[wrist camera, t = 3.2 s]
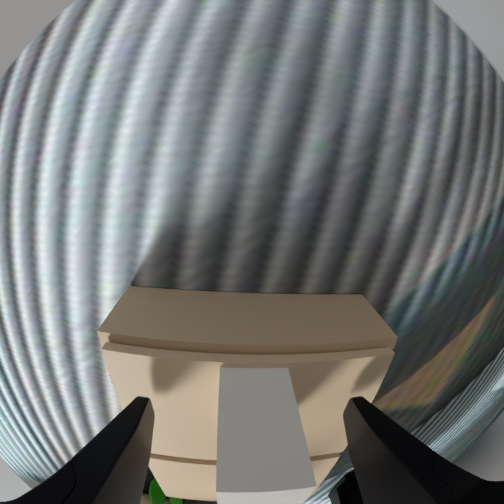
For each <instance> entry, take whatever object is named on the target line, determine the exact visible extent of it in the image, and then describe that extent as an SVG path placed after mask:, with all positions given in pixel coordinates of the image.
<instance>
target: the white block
mask: <svg viewBox="0 0 504 504" xmlns="http://www.w3.org/2000/svg"><path fill="white" fill-rule="evenodd" d="M102 353H103V356H104V359H105V363H106V366H107V369H108V372H109V375H110V378H111V381H112V384H113V387H114V389H115V392H116V395H117V398H118V400H119V403H120V405H121V408H122V410H123V409H124V408H125V407H126V406H127V405H128V404H129V403H131V402H132V401H133V400H134V399H135V398H136V397H137V396H143V397H148V398H150V400H151V403H152V406H153V410H154V414H155V419H154V428H153V437H152V446H151V453H153V454H159V455H166V456H174V457H182V458H192V459H204V460H217V463H216V496H217V504H303V503H304V502H305V501H306V499H307V498H308V497H309V496H310V494H311V493H312V492H313V491H314V489H315V488H316V487H317V485H316V481H315V477H314V473H313V468H312V464H311V460H310V456H318V455H325V454H331V453H337V452H342V451H344V450H345V448H346V446H347V445H348V443H347V437H346V432H345V426H344V420H343V412H344V410H345V408H346V405H347V403H348V401H349V399H350V398H352V397H357V396H362V397H364V398H365V399H366V400H368V401H369V402H370V403H372V401H373V399H374V397H375V395H376V393H377V391H378V389H379V387H380V385H381V383H382V381H383V379H384V377H385V375H386V372H387V370H388V368H389V366H390V363H391V361H392V359H393V356H394V354H395V353H394V352H393V351H392V349H391V348H390V347H385V348H376V349H367V350H356V351H345V352H331V353H313V354H278V355H254V354H219V353H201V352H187V351H175V350H164V349H155V348H146V347H138V346H131V345H123V344H117V343H110V342H106V343H105V344H104V346H103V348H102Z"/></svg>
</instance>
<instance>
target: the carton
mask: <svg viewBox="0 0 504 504" xmlns="http://www.w3.org/2000/svg"><path fill="white" fill-rule="evenodd" d="M97 332H98V336H99V340H100V344H101V347H102V348H103V346H104V344H105V343H106V342H110V343H117V344H123V345H131V346H138V347H146V348H155V349H164V350H175V351H187V352H201V353H219V354H254V355H278V354H313V353H331V352H345V351H356V350H367V349H376V348H385V347H390V348H391V349H392V351H393V349H394V346H395V344H396V341H397V339H398V337H397V336H396V335H395V333H394V332H393V331H392V330H391V328H390V327H389V326H388V325H387V324H386V322H385V321H384V320H383V319H382V317H381V316H380V315H379V314H378V313H377V311H376V310H375V309H374V308H373V307H372V306H371V304H370V303H369V302H368V301H367V300H366V299H365V297H364V296H363V295H362V294H269V293H238V292H215V291H196V290H179V289H164V288H150V287H137V286H129V287H128V289H127V290H126V292H125V293H124V294H123V296H122V297H121V298H120V300H119V301H118V302H117V304H116V305H115V307H114V308H113V309H112V311H111V312H110V314H109V315H108V316H107V318H106V319H105V321H104V322H103V324H102V325H101V326H100V328H99V329H98V331H97ZM338 453H339V454H340V452H338Z"/></svg>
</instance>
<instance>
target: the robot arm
mask: <svg viewBox="0 0 504 504" xmlns="http://www.w3.org/2000/svg"><path fill="white" fill-rule="evenodd" d="M154 419H155V414H154V410H153V406H152V403H151V400H150V398H148V397H143V396H137V397H136V398H135V399H134V400H133V401H132V402H131V403H129V404H128V405H127V406H126V407H125V408H124V409H123V410H122V411H121V412H120V413H119V414H118V415H117V416H116V417H115V418H114V419H113V420H112V421H111V422H110V423H109V424H108V425H107V426H106V427H105V428H104V429H103V430H101V431H100V432H99V433H98V434H97V435H96V436H95V437H94V438H93V439H92V440H91V441H90V442H89V443H88V444H87V445H86V446H85V447H83V448H82V449H81V450H80V451H79V452H78V453H77V454H76V455H75V456H74V457H73V458H72V459H71V460H69V461H68V462H67V463H66V464H65V465H64V466H63V467H62V468H61V469H59V470H58V471H57V472H56V473H55V474H53V475H52V476H51V477H49V478H48V479H47V480H45V481H44V482H42V483H41V484H39V485H38V486H36V487H35V488H33V489H32V490H30V491H28V492H27V493H25V494H24V495H22V496H21V497H19V498H17V499H14V500H11V501H7V502H0V504H140V502H141V497H142V492H143V488H144V483H145V479H146V474H147V470H148V465H149V461H150V456H151V446H152V437H153V428H154ZM343 420H344V426H345V432H346V437H347V443H348V449H349V454H350V458H351V461H352V464H353V468H354V471H355V473H351V474H348V475H346V476H344V477H343V478H342V480H341V481H340V482H339V483H338V484H337V485H336V487H335V488H334V489H333V490H332V491H331V492H330V493H329V494H328V496H329V498H330V499H331V503H332V504H504V481H487V480H484V479H482V478H479V477H477V476H475V475H473V474H471V473H469V472H467V471H465V470H464V469H462V468H460V467H458V466H456V465H454V464H453V463H451V462H449V461H448V460H446V459H445V458H443V457H442V456H440V455H439V454H438V453H436V452H435V451H432V449H430V448H429V447H428V446H426V445H425V444H424V443H422V442H421V441H420V440H418V439H417V438H416V437H414V436H413V435H412V434H410V433H409V432H408V431H406V430H405V429H404V428H402V427H401V426H400V425H398V424H397V423H396V422H394V421H393V420H392V419H391V418H389V417H388V416H387V415H385V414H384V413H383V412H382V411H380V410H379V409H378V408H377V407H375V406H374V405H373V404H371V403H370V402H369V401H368V400H366V399H365V398H364V397H362V396H357V397H352V398H350V399H349V401H348V403H347V405H346V408H345V410H344V412H343Z"/></svg>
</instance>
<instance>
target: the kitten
mask: <svg viewBox="0 0 504 504" xmlns="http://www.w3.org/2000/svg"><path fill="white" fill-rule="evenodd" d="M140 504H182V498H175V497H169V499H167V498H166V495H165V494H164V492H163V490H162V489H161V487H160V486H159V484H158V482H157V480H156V479H153V480H152V481H151V484H150V487H149V494H144V493H142V497H141V502H140Z"/></svg>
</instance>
